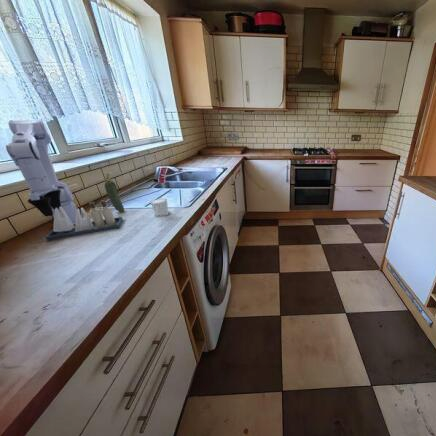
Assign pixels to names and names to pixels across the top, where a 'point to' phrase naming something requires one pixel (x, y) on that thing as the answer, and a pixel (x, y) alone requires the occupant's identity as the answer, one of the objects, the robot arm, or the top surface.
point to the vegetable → (113, 193)
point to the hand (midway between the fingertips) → (53, 212)
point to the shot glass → (160, 207)
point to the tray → (58, 235)
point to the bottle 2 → (108, 214)
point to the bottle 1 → (97, 216)
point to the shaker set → (65, 224)
